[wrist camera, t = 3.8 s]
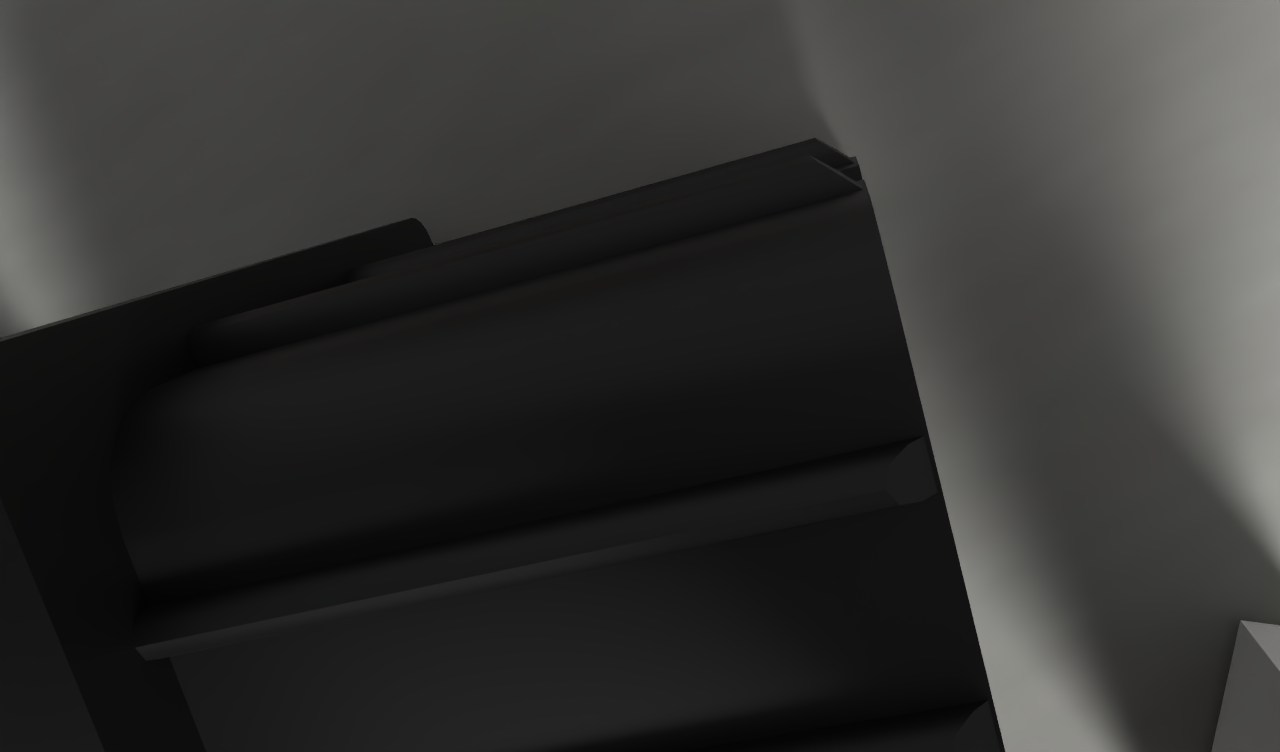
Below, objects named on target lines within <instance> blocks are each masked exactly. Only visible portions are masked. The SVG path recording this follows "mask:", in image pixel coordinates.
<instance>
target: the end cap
mask: <svg viewBox="0 0 1280 752" xmlns="http://www.w3.org/2000/svg"><path fill="white" fill-rule="evenodd" d="M0 752H1005V749H1004V745H1003V740H1002V736H1001V732H1000V728H999V724H998V720H997V716H996V711H995V707H994V703H993V699H992V695H991V691H990V687H989V682H988V678H987V674H986V670H985V666H984V662H983V658H982V654H981V649H980V645H979V641H978V637H977V633H976V629H975V625H974V620H973V616H972V612H971V608H970V604H969V600H968V596H967V591H966V587H965V583H964V579H963V575H962V571H961V567H960V562H959V558H958V554H957V550H956V546H955V542H954V538H953V533H952V529H951V525H950V521H949V517H948V513H947V509H946V504H945V500H944V496H943V492H942V488H941V484H940V480H939V475H938V471H937V467H936V463H935V459H934V455H933V451H932V446H931V442H930V438H929V434H928V430H927V426H926V422H925V417H924V413H923V409H922V405H921V401H920V397H919V393H918V389H917V384H916V380H915V376H914V372H913V368H912V364H911V360H910V355H909V351H908V347H907V343H906V339H905V335H904V331H903V327H902V322H901V318H900V314H899V310H898V306H897V302H896V298H895V294H894V290H893V286H892V282H891V278H890V274H889V270H888V265H887V262H886V258H885V254H884V250H883V246H882V242H881V238H880V234H879V230H878V226H877V222H876V218H875V214H874V210H873V206H872V203H871V199H870V196H869V193H868V190H867V187H866V184H865V181H864V179H863V180H862V176H861V171H860V167H859V164H858V161H857V158H856V156H855V157H852V158H849V157H848V156H846V155H844V154H843V153H841V152H839V151H838V150H836V149H834V148H832V147H831V146H829V145H827V144H825V143H824V142H822V141H820V140H818V139H816V138H814V139H810V140H807V141H803V142H799V143H796V144H792V145H789V146H785V147H782V148H778V149H775V150H771V151H767V152H764V153H760V154H757V155H753V156H750V157H746V158H743V159H739V160H736V161H732V162H728V163H725V164H721V165H718V166H714V167H711V168H707V169H704V170H700V171H696V172H693V173H689V174H686V175H682V176H679V177H675V178H672V179H668V180H665V181H661V182H657V183H654V184H650V185H647V186H643V187H640V188H636V189H633V190H629V191H625V192H622V193H618V194H615V195H611V196H608V197H604V198H601V199H597V200H594V201H590V202H586V203H583V204H579V205H576V206H572V207H569V208H565V209H562V210H558V211H554V212H551V213H547V214H544V215H540V216H537V217H533V218H530V219H526V220H523V221H519V222H515V223H512V224H508V225H505V226H501V227H498V228H494V229H491V230H487V231H483V232H480V233H476V234H473V235H469V236H466V237H462V238H459V239H455V240H452V241H448V242H444V243H441V244H437V245H434V246H433V244H432V241H431V239H430V236H429V234H428V232H427V231H426V229H425V227H424V226H423V225H422V224H421V222H419V221H418V220H417V219H414V218H410V219H407V220H403V221H400V222H397V223H393V224H390V225H386V226H383V227H379V228H376V229H372V230H369V231H365V232H362V233H359V234H355V235H352V236H348V237H345V238H341V239H338V240H334V241H331V242H328V243H324V244H321V245H317V246H314V247H310V248H307V249H303V250H300V251H296V252H293V253H290V254H286V255H283V256H279V257H276V258H272V259H269V260H266V261H262V262H259V263H255V264H252V265H248V266H245V267H241V268H238V269H235V270H231V271H228V272H224V273H221V274H217V275H214V276H211V277H207V278H204V279H200V280H197V281H193V282H190V283H187V284H183V285H180V286H176V287H173V288H169V289H166V290H163V291H159V292H156V293H152V294H149V295H145V296H142V297H139V298H135V299H132V300H128V301H125V302H122V303H118V304H115V305H111V306H108V307H104V308H101V309H98V310H94V311H91V312H87V313H84V314H81V315H77V316H74V317H70V318H67V319H64V320H60V321H57V322H53V323H50V324H47V325H43V326H40V327H36V328H33V329H30V330H26V331H23V332H19V333H16V334H12V335H9V336H6V337H2V338H0Z"/></svg>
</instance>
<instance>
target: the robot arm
mask: <svg viewBox="0 0 1280 752" xmlns="http://www.w3.org/2000/svg"><path fill="white" fill-rule="evenodd" d="M1211 752H1280V625H1273V624H1266V623H1258V622H1250V621H1242V620H1240V624H1239V629H1238V633H1237V638H1236V642H1235V647H1234V652H1233V656H1232V661H1231V665H1230V670H1229V674H1228V679H1227V683H1226V688H1225V692H1224V697H1223V701H1222V706H1221V710H1220V715H1219V719H1218V724H1217V728H1216V733H1215V737H1214V742H1213V747H1212V751H1211Z"/></svg>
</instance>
